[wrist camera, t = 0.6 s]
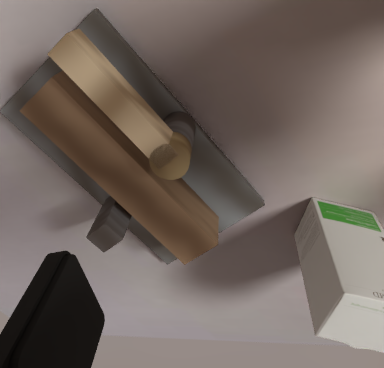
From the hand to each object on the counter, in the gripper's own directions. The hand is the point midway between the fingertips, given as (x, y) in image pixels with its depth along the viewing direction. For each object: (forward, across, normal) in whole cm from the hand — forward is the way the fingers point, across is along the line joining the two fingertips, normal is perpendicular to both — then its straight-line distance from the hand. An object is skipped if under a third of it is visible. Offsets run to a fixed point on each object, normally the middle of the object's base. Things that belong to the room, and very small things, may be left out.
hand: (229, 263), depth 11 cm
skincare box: (+30, -10, +22) cm, 39 cm away
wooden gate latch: (+31, +11, +9) cm, 34 cm away
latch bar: (+24, +8, +1) cm, 25 cm away
